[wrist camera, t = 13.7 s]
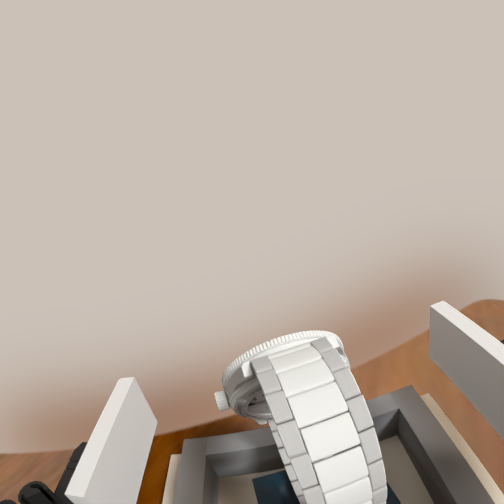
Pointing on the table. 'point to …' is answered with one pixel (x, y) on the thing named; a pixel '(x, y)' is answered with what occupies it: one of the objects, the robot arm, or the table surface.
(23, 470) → the table surface
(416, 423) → the fitting base
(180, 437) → the table surface
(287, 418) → the watch
